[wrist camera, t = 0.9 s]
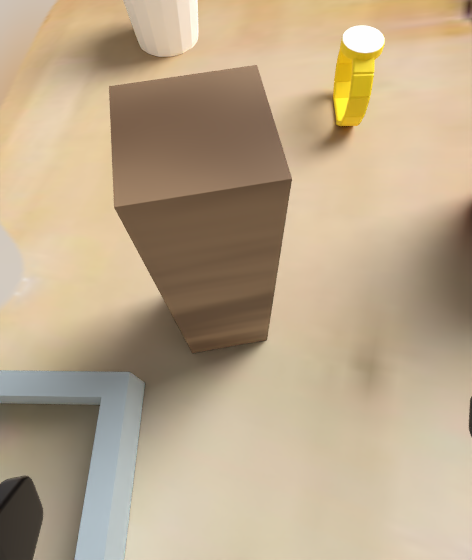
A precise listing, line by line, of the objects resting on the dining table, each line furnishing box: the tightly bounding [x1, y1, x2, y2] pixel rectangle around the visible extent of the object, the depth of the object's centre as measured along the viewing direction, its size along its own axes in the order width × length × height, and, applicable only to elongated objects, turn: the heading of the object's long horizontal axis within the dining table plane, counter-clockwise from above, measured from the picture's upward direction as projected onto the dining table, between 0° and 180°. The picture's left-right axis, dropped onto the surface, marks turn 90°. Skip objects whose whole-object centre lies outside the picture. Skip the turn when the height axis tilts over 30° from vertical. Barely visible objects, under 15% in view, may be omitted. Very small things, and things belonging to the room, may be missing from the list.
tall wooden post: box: [109, 65, 292, 353], centre depth 16 cm, size 4×4×14 cm
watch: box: [333, 25, 385, 126], centre depth 27 cm, size 6×3×6 cm, turn 179°
